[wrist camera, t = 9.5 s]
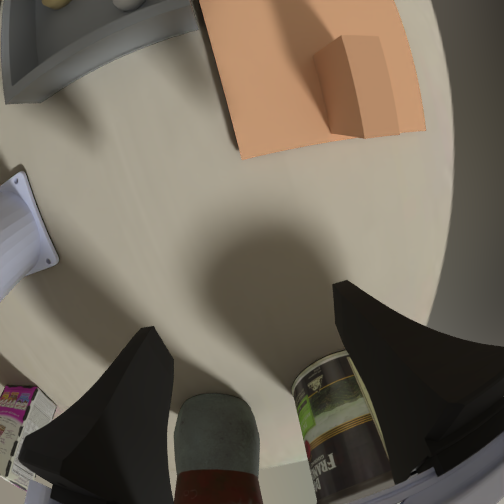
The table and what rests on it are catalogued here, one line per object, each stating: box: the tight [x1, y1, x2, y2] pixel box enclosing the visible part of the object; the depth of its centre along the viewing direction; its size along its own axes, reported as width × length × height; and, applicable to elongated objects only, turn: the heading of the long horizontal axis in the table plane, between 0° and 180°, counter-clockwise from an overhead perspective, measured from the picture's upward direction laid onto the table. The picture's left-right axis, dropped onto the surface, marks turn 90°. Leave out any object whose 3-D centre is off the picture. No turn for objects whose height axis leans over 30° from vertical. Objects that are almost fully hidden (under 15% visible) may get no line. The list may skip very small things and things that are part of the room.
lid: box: [199, 0, 426, 160], centre depth 11 cm, size 13×13×6 cm
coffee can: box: [292, 350, 395, 504], centre depth 20 cm, size 10×10×14 cm
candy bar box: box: [0, 386, 57, 491], centre depth 19 cm, size 11×5×16 cm, turn 106°
